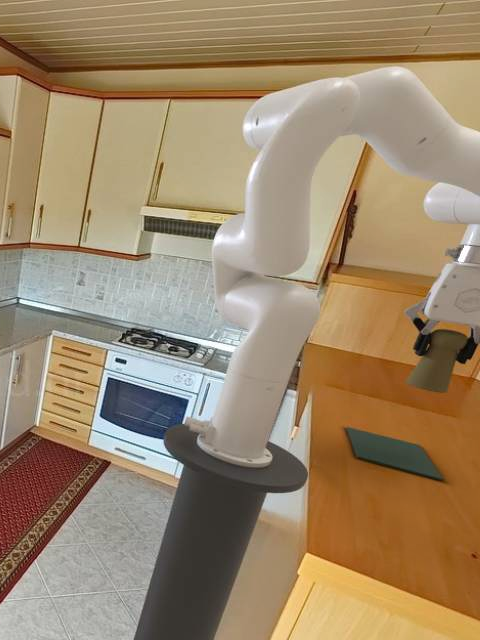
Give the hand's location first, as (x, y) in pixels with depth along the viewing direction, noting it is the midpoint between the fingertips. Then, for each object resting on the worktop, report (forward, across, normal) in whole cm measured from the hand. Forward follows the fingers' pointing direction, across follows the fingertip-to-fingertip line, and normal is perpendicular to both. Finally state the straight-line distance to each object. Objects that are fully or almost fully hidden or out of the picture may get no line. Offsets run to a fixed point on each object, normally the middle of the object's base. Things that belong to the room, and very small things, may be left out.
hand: (439, 357), depth 90 cm
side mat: (+21, 0, +4) cm, 22 cm away
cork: (+6, 0, 0) cm, 6 cm away
